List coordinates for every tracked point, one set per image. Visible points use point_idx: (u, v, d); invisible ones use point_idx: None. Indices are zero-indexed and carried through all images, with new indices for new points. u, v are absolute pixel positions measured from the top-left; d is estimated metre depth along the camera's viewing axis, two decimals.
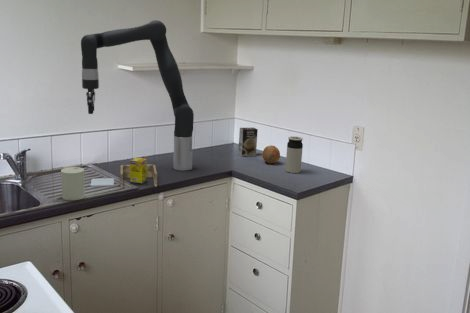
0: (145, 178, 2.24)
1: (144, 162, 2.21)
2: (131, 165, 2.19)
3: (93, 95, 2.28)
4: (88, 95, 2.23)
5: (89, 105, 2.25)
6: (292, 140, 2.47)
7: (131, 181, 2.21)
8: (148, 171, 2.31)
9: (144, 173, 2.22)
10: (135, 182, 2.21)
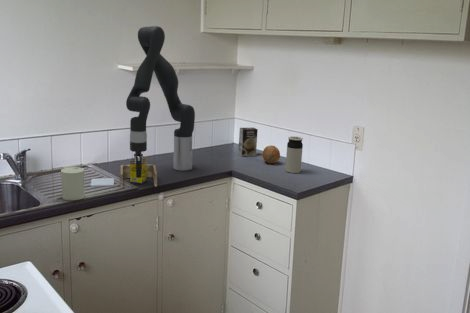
0: (145, 178, 2.24)
1: (144, 162, 2.21)
2: (131, 165, 2.19)
3: (141, 158, 2.19)
4: (137, 159, 2.14)
5: (137, 169, 2.16)
6: (292, 140, 2.47)
7: (131, 181, 2.21)
8: (148, 171, 2.31)
9: (144, 173, 2.22)
10: (135, 182, 2.21)
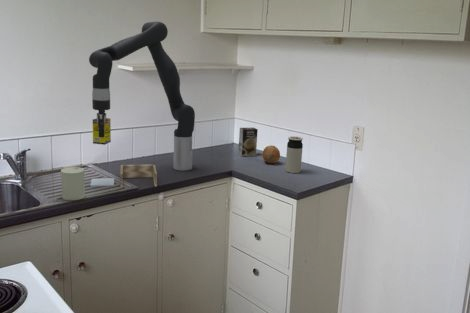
0: (108, 138, 2.15)
1: (107, 121, 2.13)
2: (94, 124, 2.11)
3: (104, 117, 2.11)
4: (99, 117, 2.06)
5: (100, 128, 2.08)
6: (292, 140, 2.47)
7: (94, 141, 2.13)
8: (148, 171, 2.31)
9: (108, 133, 2.14)
10: (98, 142, 2.13)
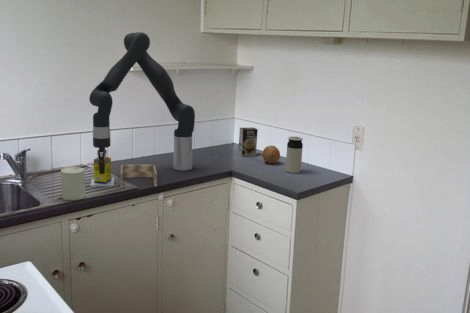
0: (109, 177, 2.20)
1: (108, 161, 2.17)
2: (95, 164, 2.16)
3: (104, 154, 2.15)
4: (99, 155, 2.10)
5: (100, 165, 2.12)
6: (292, 140, 2.47)
7: (95, 180, 2.17)
8: (148, 171, 2.31)
9: (109, 172, 2.19)
10: (99, 181, 2.17)
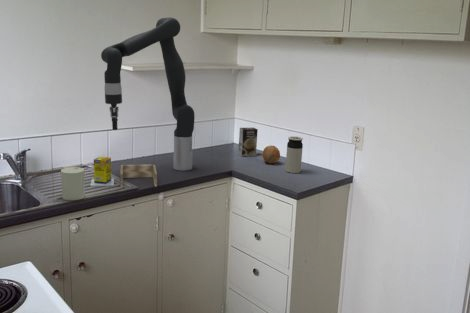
0: (109, 177, 2.20)
1: (108, 161, 2.17)
2: (95, 164, 2.16)
3: (117, 110, 2.20)
4: (112, 111, 2.15)
5: (113, 121, 2.17)
6: (292, 140, 2.47)
7: (95, 180, 2.17)
8: (148, 171, 2.31)
9: (109, 172, 2.19)
10: (99, 181, 2.17)
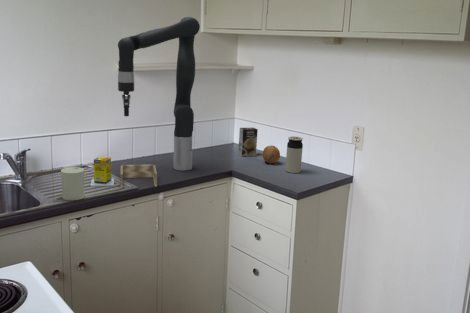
0: (109, 177, 2.20)
1: (108, 161, 2.17)
2: (95, 164, 2.16)
3: (129, 98, 2.31)
4: (125, 98, 2.26)
5: (125, 108, 2.28)
6: (292, 140, 2.47)
7: (95, 180, 2.17)
8: (148, 171, 2.31)
9: (109, 172, 2.19)
10: (99, 181, 2.17)
